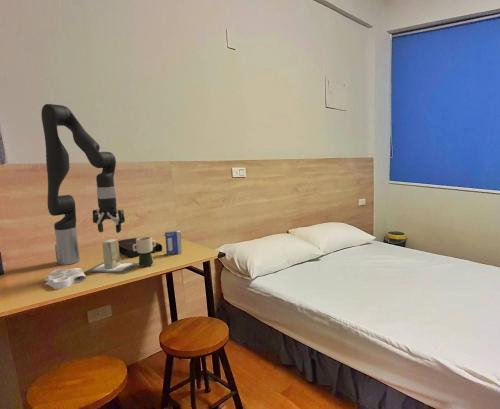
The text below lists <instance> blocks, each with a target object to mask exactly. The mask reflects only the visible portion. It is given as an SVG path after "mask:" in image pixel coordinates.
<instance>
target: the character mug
mask: <svg viewBox="0 0 500 409" xmlns="http://www.w3.org/2000/svg"><path fill="white" fill-rule="evenodd" d="M139 237H140V238H138V237H136V238H137V239H136V244H133V251H137V252H138V253H140V255H139V257H138V263H139V264H138V265H139V266H141V267H148V266H151V265H153V264H154V260H153V256H152V253H150V252H151V251H152V250H153V247H155V246H156V243H157V242H156V240H155V239H153V237H152V236H139ZM152 242H154V245H152ZM135 246H136V247H137V249H135Z"/></svg>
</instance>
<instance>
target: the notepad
mask: <svg viewBox="0 0 500 409" xmlns="http://www.w3.org/2000/svg"><path fill="white" fill-rule="evenodd" d="M138 265H139V262H121V261H120V265H118V266H116V267H115V268H105V266H104V261H103V262H101V263H98V264H97V265H95V266H94V267H92V268H90V269H88V270H85V273H98V274H99V273H100V274H101V273H103V274H126V273H128V272H129V271H131V270H132V269H134V268H135V267H137V266H138Z"/></svg>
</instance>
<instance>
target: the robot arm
mask: <svg viewBox="0 0 500 409" xmlns="http://www.w3.org/2000/svg"><path fill="white" fill-rule="evenodd" d="M40 115H41V116H40V117H41V122H42V128H43V133H44V135H43V136H44V141H45V143H44V144H45V158H46V159H45V161H46V164H45V165H46V174H47V210H48V213H49V215H51V216H52V217H53V216H54V217H55V216H63V217H62V218H61V219H60V220H58V221H56V222H55V223H54V224H53V225H54V226H53V227H54V235H55V241H56V242H55V243H56V244H54V251H55V257H56V258H55V259H56V264H57V265H63V266H64V265H72V264H76V263H78V262H80V261H81V259H80V250H79V240H78V231H77V212H76V202H75V198H74V197H73V196H72V195H70V194H64V195H59V191H60V187H61V185H62V182H64V180H65V178H66V176H67V175H68V173H69V171H70V155H69V153H68V151H67V149H66V147H65V146H64V144H63V143H62V141H61V139H60V137H59V131H58V126H59V127H61V126H62V127H65V128H67V129H68V130H69V131H71V133H72V138H73V142H74V144H75V145H76V146H77V147H78V148H79V149H80V150H81V151H82V152H83V153H84V154H85V156H86V158H87V160H88V161H89V164H90V165H91V166H93V167H95V168H96V169H102V171H101V173H100V172H99V173H98V174H97V175H96V177H95V179H96V195H97V196H96V198H97V207H98V208H96V209H93V210H92V224H97V230H98V232H99V233H103V232H104V224H103V222H104V221H105V220H111V221H112V222H114V223H115V231H116V233H118V234H119V233H121V231H122V223H123V224H124V223H125V222H126V220H125V213H124V212H125V211H124V209H123V208H122V209H117V206H118V205H117V195H116V188H115V180H114V176H115V170H116V166H117V165H116V164H117V160H116V156H115V155H114V154H113V152H110V151H100V148H101V147H100V144H99V143H98V142H97V141H96V140H95V139H94V138H93V137H92V136H91V135H90V134H89V133H88V132H87V131H86V129H85V128H84V127H83V126H82V125H81V123H80V121H79V120H78V119H77V118H76V116H75V115H74V112H72V110H70V108H69V107H68V106H65V105H61V104H51V103H46V104H44V105H43V106H42V108H41V114H40ZM99 215H100V216H99Z"/></svg>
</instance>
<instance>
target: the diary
mask: <svg viewBox="0 0 500 409" xmlns="http://www.w3.org/2000/svg"><path fill="white" fill-rule="evenodd" d="M140 237H141V236H138V237H132V238H124V239H118V243H119V254H121V255H122V256H125V257H127V258H128V259H134V258H139V255H140V253H138V252H137V251H133V244H136V239H137V238H140ZM152 245H154V242H152ZM135 249H137V247H136V246H135ZM159 251H160V252H162V251H163V245H162V244H161V243H159V242H156V246H155V247H153V250H152V251H151V252H150V253H151V254H153V253H156V252H157V253H159Z"/></svg>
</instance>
